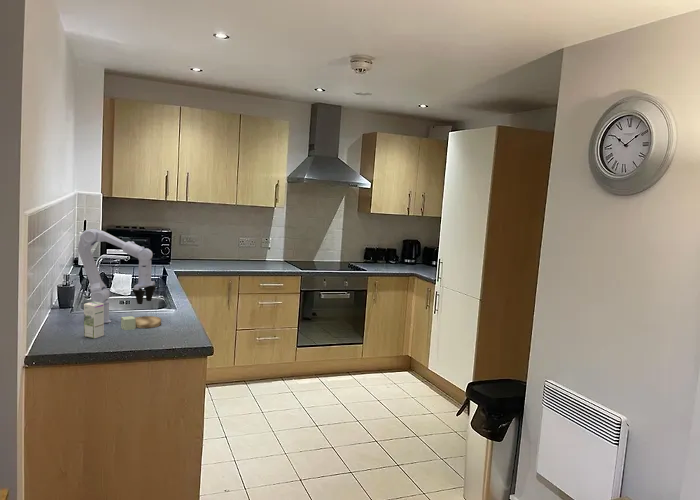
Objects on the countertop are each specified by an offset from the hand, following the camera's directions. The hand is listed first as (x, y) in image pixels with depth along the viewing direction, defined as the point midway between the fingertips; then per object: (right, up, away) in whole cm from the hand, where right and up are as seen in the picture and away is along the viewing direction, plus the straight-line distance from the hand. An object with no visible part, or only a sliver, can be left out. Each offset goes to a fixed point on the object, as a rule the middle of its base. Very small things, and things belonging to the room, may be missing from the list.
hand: (144, 302), depth 256 cm
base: (+2, -10, -3) cm, 11 cm away
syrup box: (-12, -12, -26) cm, 31 cm away
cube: (-3, -11, -11) cm, 16 cm away
